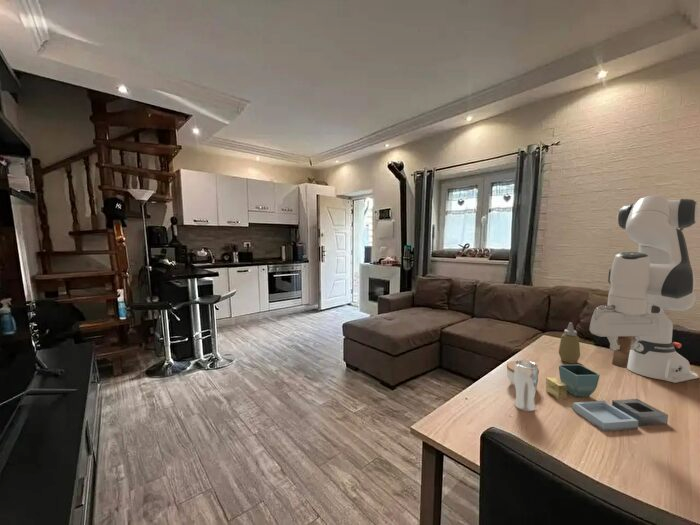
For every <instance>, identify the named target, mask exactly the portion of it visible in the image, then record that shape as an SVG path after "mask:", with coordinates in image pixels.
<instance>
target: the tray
mask: <svg viewBox="0 0 700 525" xmlns="http://www.w3.org/2000/svg"><path fill="white" fill-rule="evenodd" d="M572 410H573V412H575V411H576V413H577V414H578V415H580V416H581V417H583V418H584V419H586V420H587V421H589V422H590V423H591V424H593V425H594V426H596V427H597V428H598V429H600V430H601V431H602V432H610V431H612V432H613V431H623V430H624V431H625V430H637V429H639V425H638V420H636V419H635V418H633V417H631V416H629V415H628V414H626V413H624V412H623V411H621V410H619V409H617V408H616V407H614V406H612V403H611V404H610V403H609V402H607V401H606V400H593V401H592V400H591V401H579V402H578V401H577V402H576V401H575V402H573V403H572Z"/></svg>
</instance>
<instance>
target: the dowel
mask: <svg viewBox="0 0 700 525" xmlns="http://www.w3.org/2000/svg"><path fill="white" fill-rule="evenodd" d="M616 341H617V344H619V345H620V350H613V354H612V361H611V364H612V365H613V366H615V367H617V368H620V369H621V368H622V369H627V365H628V359H629V353H630V347H631V341H632V336H618V340H616Z"/></svg>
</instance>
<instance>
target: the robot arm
mask: <svg viewBox="0 0 700 525" xmlns="http://www.w3.org/2000/svg"><path fill="white" fill-rule="evenodd" d="M699 217H700V206H699V205H698V203H697V201H696V200H694V199H691V198H681V199H667V198H665V197H663V196H661V195H648V196H644V197H642V198H640V199H638V200H637V201H636V202H635V203H630V204H625V205H623V206H622V207H621V208H619V210H618V212H617V215H616V222H617V223H618V226H619V227H620V228H621V229H623V230H625V234H626V236H627V237H628V238H629V239H630V240H631V241H632V242H635V243H636V244H638V252H637V251H636V252H635V251H627V252H620V253H617V254H615V256H614V259H613V262H612V265H611V267H610V268H609V270H608V277H607V278H608V279H607V283H608V284H609V285H610V289H609V290H608V296H607V305H598V306H597V307H596V308H595V309H594V310H593V314H592V316H591V319H590V324H589V331H590V334H592V335H594V336H597V337H603V338H605V337H606V338H607V341H608V342H609V348H610V349H611V350H613V351H614V350H620V345H619V344H617V341H616V340H618V336H632V341H631V347H630V353H629V359H628V365H627V368H626V369H628V370H629V371H630V372H632V373H635V374H637V375H639V376H643V377H647V378H650V379H655V380H656V379H657V380H660V381H661V380H662V381H666V382H669V383H673V384H676V383H681V382H686V381H690V380H695V379H699V375H698V373H696V372H694V371H692V370H691V365H690V361H689V360H688V359H687V358H685V357H684V356H683V355H681V354H679V353H678V352H677V351H676V349H680V348H682V343H680V342H676V341H673V329H674V328H673V327H674V325H673V321H672V320H671V319H670V318H669V317H668V316H667V315H666V313H665V311H674V312H675V311H677V312H683V311H686V310H688V309H690V308H691V309H692V307H693V306H694V305H695V302H696V300H697V298H696V293H695V291H694V290H695V289H696V283H697V281H696V276H695V273H694V271H693V268H692V265H691V261H690V256H689V251H688V245H687V241H686V238H685V234H684V233H683V231H684V229H687V228H690V227H691V226H693V225H694V224H696V222H697V221H698V219H699Z"/></svg>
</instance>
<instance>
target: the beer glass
mask: <svg viewBox="0 0 700 525" xmlns="http://www.w3.org/2000/svg"><path fill="white" fill-rule="evenodd" d="M538 369H539V366H538V364H537V363H536V362H532V361H530V360H525V359H520V360H519V359H517V360H516V362H515V368H514V382H515V387H514V388H515V398H514V399H515V400H514V406H515V407H516V408H517V409H519V410H521V411H523V412H528V413H529V412H534V411H535V410H536V406H535V395H536V390H537V388H538V387H537V386H538V382H539V374H538Z"/></svg>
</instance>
